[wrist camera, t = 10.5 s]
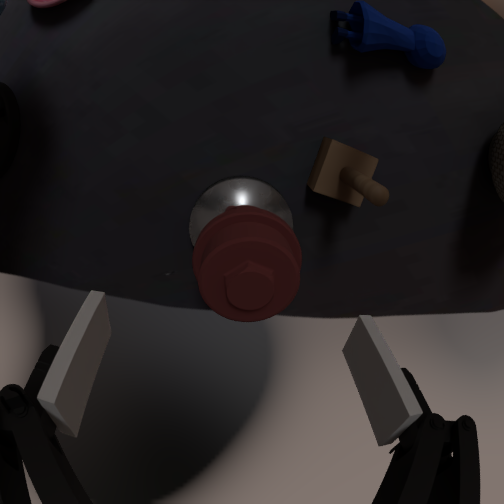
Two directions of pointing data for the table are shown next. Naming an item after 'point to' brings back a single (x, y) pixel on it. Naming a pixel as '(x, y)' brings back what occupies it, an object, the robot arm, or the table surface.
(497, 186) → the planter
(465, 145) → the table surface
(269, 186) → the grey round disc
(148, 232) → the table surface
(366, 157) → the brown wooden peg block
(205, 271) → the mechanical component
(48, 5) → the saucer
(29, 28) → the table surface
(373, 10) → the toy
